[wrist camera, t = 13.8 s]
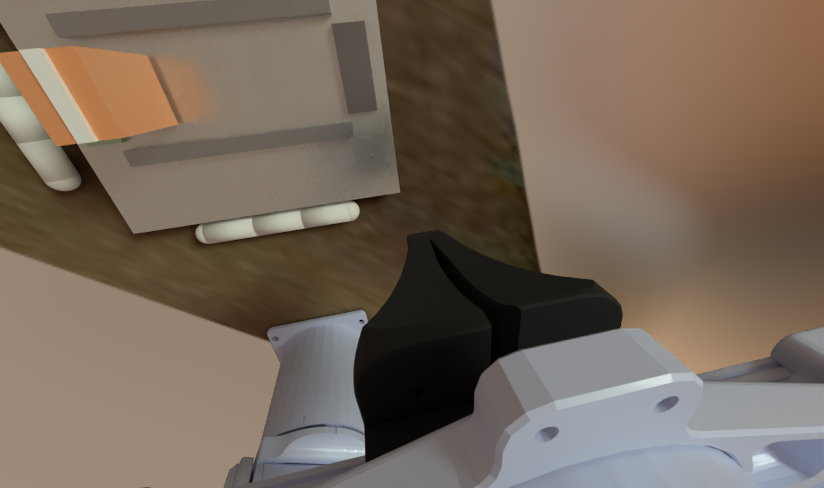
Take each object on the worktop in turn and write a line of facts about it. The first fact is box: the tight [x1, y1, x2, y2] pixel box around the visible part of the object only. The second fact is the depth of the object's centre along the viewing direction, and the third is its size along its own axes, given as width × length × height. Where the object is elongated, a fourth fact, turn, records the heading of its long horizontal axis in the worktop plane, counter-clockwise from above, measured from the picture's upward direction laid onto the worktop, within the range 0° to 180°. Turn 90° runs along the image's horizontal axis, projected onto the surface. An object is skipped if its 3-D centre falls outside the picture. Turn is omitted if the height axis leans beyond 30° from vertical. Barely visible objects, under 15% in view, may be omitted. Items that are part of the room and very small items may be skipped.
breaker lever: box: [0, 46, 178, 146], centre depth 12 cm, size 3×2×4 cm
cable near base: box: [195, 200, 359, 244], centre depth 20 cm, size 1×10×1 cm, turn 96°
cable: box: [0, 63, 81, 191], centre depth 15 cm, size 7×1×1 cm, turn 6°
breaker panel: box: [0, 0, 400, 234], centre depth 15 cm, size 14×16×2 cm
